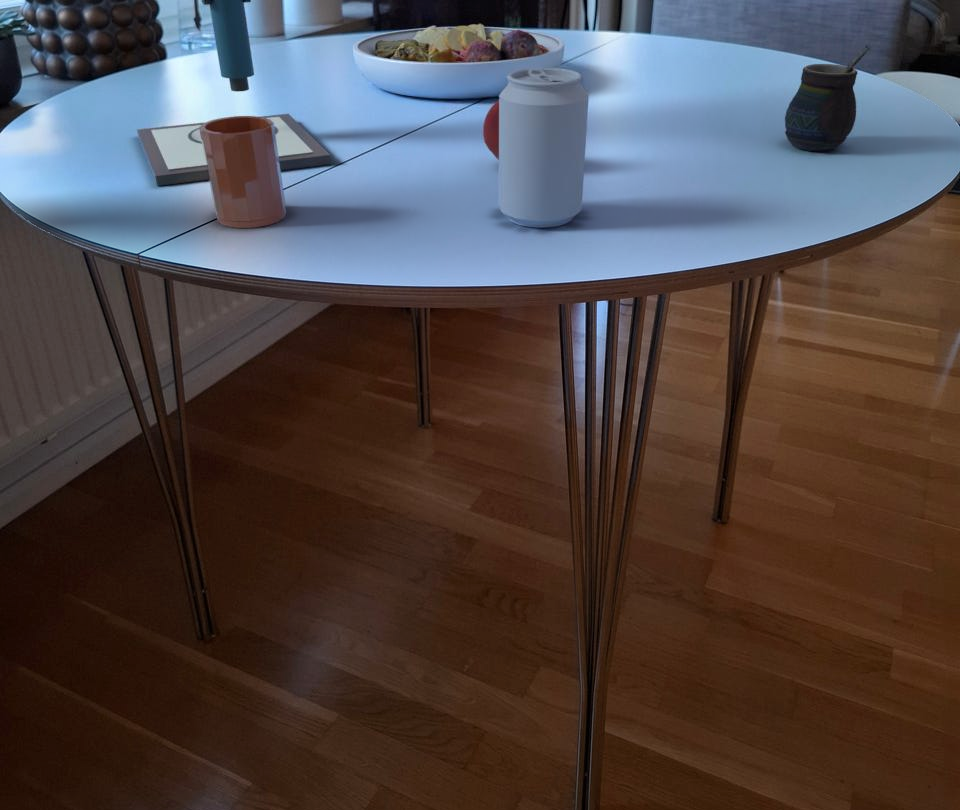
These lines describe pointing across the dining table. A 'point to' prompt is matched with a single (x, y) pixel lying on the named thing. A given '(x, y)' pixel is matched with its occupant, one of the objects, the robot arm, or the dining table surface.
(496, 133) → the onion
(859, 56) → the mate gourd
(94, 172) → the dining table surface
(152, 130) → the picture frame
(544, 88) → the can
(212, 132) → the pen cup
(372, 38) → the bowl
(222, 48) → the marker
